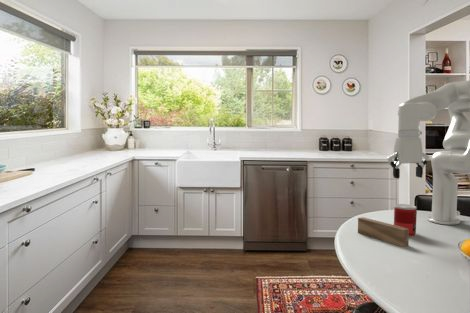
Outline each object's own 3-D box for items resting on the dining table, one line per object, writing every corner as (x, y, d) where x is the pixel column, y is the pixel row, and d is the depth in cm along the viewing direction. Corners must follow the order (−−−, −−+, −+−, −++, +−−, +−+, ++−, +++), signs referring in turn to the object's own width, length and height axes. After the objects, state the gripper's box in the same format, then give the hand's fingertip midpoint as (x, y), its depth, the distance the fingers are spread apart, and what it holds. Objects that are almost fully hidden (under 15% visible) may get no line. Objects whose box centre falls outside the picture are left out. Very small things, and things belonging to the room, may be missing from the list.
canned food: (418, 236, 140) (419, 208, 139) (396, 235, 141) (397, 207, 140) (412, 231, 147) (413, 204, 146) (391, 230, 149) (392, 203, 148)
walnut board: (362, 231, 146) (363, 217, 146) (408, 245, 129) (409, 228, 129) (357, 232, 145) (358, 218, 144) (403, 246, 128) (403, 230, 127)
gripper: (422, 133, 147) (421, 175, 149) (382, 134, 145) (382, 177, 147) (435, 134, 140) (434, 178, 141) (393, 135, 138) (392, 180, 139)
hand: (407, 177), depth 144 cm, fingers open, 9 cm apart
